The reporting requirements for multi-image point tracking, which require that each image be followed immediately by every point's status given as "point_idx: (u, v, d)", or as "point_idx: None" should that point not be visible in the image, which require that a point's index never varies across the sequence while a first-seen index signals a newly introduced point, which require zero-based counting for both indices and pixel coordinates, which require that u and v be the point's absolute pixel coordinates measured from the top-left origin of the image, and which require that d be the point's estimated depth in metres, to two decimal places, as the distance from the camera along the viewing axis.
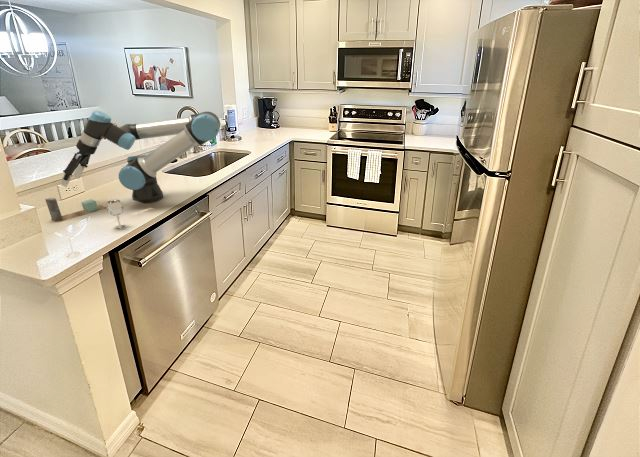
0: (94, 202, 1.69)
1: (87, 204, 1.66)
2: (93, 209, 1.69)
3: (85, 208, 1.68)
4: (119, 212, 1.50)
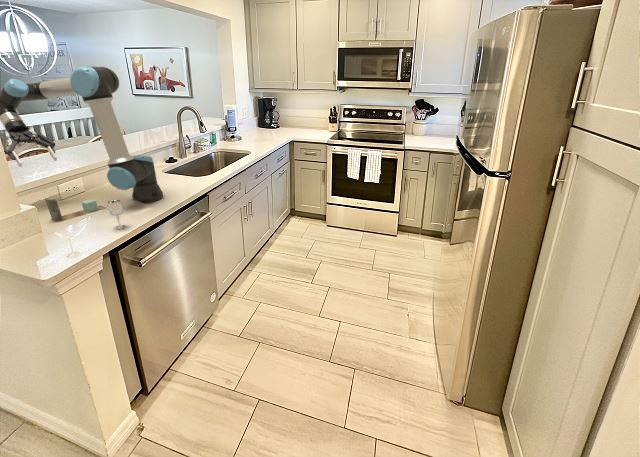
0: (94, 202, 1.69)
1: (87, 204, 1.66)
2: (93, 209, 1.69)
3: (85, 208, 1.68)
4: (119, 212, 1.50)
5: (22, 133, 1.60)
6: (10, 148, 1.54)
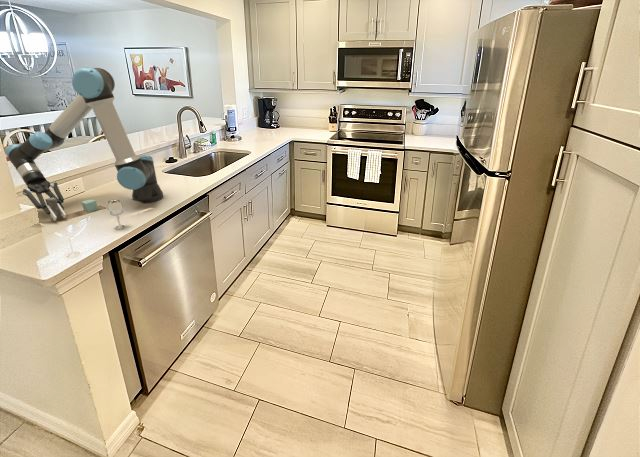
0: (94, 202, 1.69)
1: (87, 204, 1.66)
2: (93, 209, 1.69)
3: (85, 208, 1.68)
4: (119, 212, 1.50)
5: (39, 181, 1.58)
6: (43, 202, 1.54)
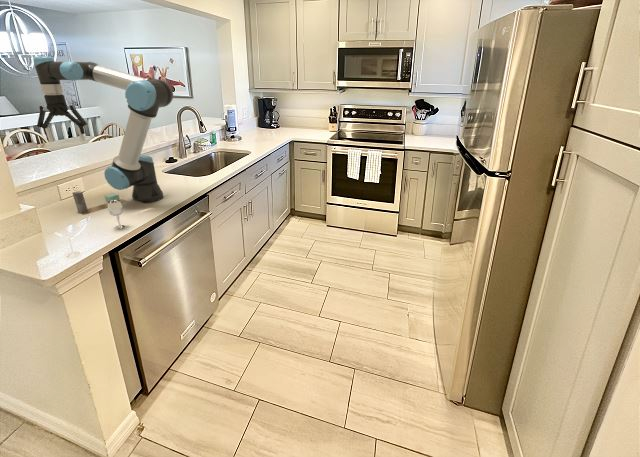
0: (117, 196, 1.77)
1: (110, 198, 1.75)
2: None
3: None
4: (119, 212, 1.50)
5: (57, 108, 1.62)
6: (44, 124, 1.63)
